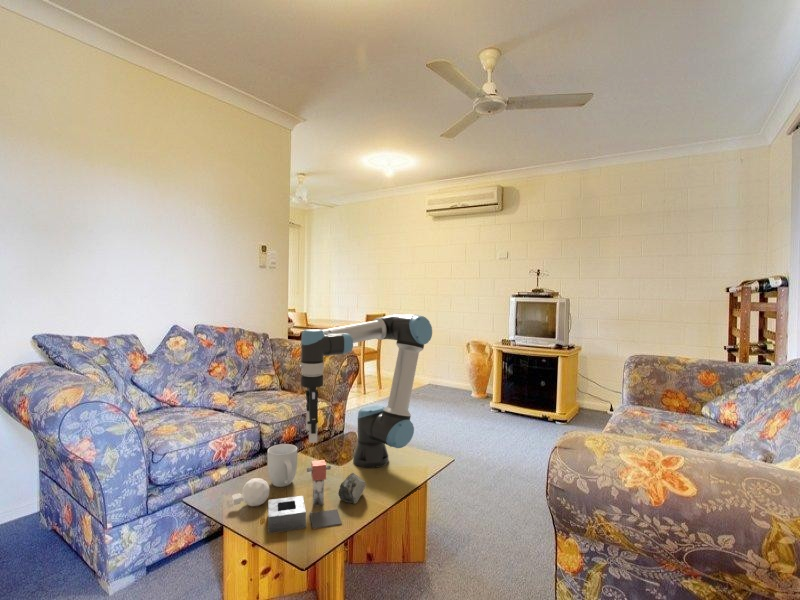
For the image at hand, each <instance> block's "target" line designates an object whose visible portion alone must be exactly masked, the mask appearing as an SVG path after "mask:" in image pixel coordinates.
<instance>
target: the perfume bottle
mask: <svg viewBox="0 0 800 600" xmlns="http://www.w3.org/2000/svg"><path fill="white" fill-rule="evenodd" d="M241 490H242V491H241V493H239V492H238V493H235V494H232V495H231V497H232V504H233V506H236V505H238V504H239V505H240V504H242V502H244V504H246V505H247V506H250V507H259V506H261V505H263V504H264V503H266V501H267V499H268V498H269V496H270V485H269V483H268V482H267V481H266V480H265V479H263V478H261V477H260V478H259V477H256V478H255V477H253V478H251V479H249V480H247V482H246V483H245V484H244V486H243V487H242V489H241Z"/></svg>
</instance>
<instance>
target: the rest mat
mask: <svg viewBox="0 0 800 600" xmlns="http://www.w3.org/2000/svg"><path fill="white" fill-rule="evenodd" d="M309 517H310V521H311V526H312V527H311V528H312V529H313V530H314V529H322V528H326V527H327V528H329V527H335V526H342V519H341V517H340V513H339V511H338V509H330V510H329V509H327V510H322V511H315V512H309Z"/></svg>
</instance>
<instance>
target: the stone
mask: <svg viewBox="0 0 800 600" xmlns="http://www.w3.org/2000/svg"><path fill="white" fill-rule="evenodd" d="M366 488H367V483H366V481H365V480H364V479H362V478H361V477H360V476H359V475H357V474H356V473H355V472H352V473H350V474H349V475H348V476H347V477H346V478H345V479H344V480H343V482H341V483H340V486H339V490H338V493H337V494H338V496H339V499H340V500H341V501H343V502H345V503H349V504H350V503H352V504H354V503H355V504H357V503H358V502H359V500H360V498H361V496H362V495H363V492H364V491H365V489H366Z"/></svg>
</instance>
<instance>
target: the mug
mask: <svg viewBox="0 0 800 600" xmlns="http://www.w3.org/2000/svg"><path fill="white" fill-rule="evenodd" d="M266 455H267V457H266V458H267V459H266V463H267V464H266V465H267V472H268V477H269V480H270V482H271V484H272V485H273V486H274V487H277V488H279V487H280V488H282V487H283V488H284V487H287V486H289V485H291V483H292V482H293V481H294V478H295V476H296V473H297V468H298V446H296V445H294V444H290V443H281V444H280V443H279V444H275V445H273V446H270V447H269V448H268V449H267V454H266Z"/></svg>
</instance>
